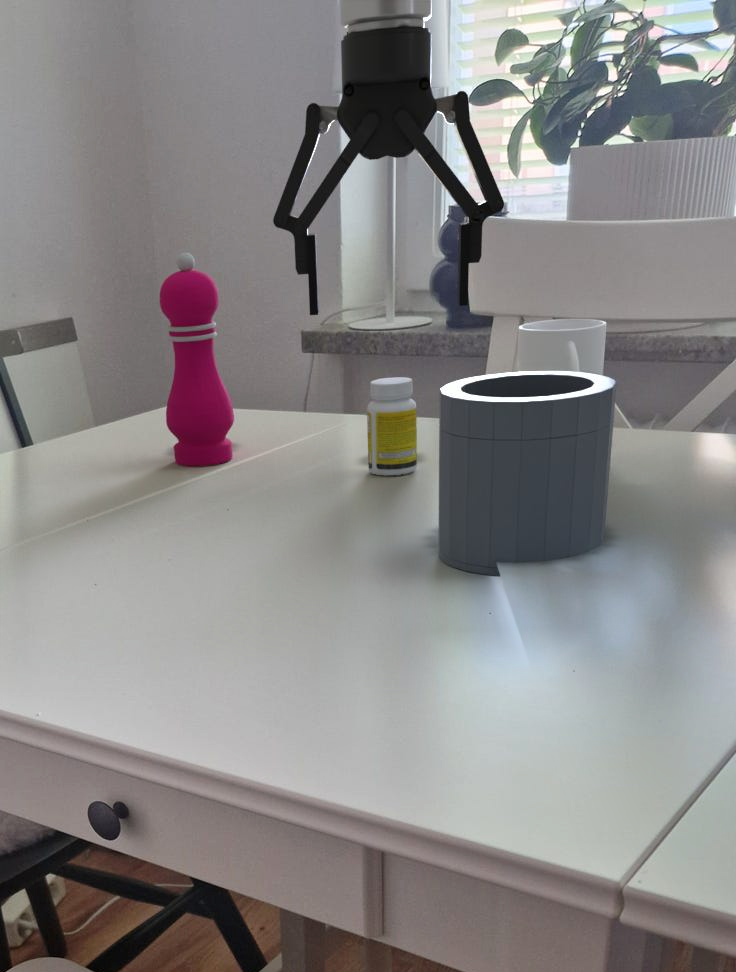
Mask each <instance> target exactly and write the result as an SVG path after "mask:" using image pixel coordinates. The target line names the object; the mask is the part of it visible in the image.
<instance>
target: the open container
mask: <svg viewBox="0 0 736 972" xmlns="http://www.w3.org/2000/svg"><path fill="white" fill-rule="evenodd" d="M617 384H618V383H617V381H615V379H613V378H612V377H610V376H605V375H603V376H602V375H597V374H590V373H582V372H566V371H530V372H529V371H528V372H517V371H514V372H512V371H511V372H502V373H491V374H484V375H477V376H472V377H467V378H462V379H459V380H455V381H452V382H449V383H446V384H445V385H444V386H442V387H440V389H439V414H438V416H439V422H438V424H439V427H438V428H439V429H438V430H439V431H438V531H437V533H438V538H437V539H438V541H437V543H438V556H439V559H440V560H441V561H442V562H443V563H445V564H446V565H448V566H450V567H452V568H455V569H458V570H461V571H465V572H468V573H473V574H480V575H487V576H495V577H497V576H499V577H500V576H501V573H500V570H499V567H498V564H497V562H499V563H533V562H547V561H554V560H561V559H566V558H567V559H568V558H571V557H576V556H579V555H582V554H585V553H589V552H590V551H592V550H595V549H597V548H598V547H600V546H601V545H602V544H603V541H604V539H605V533H606V521H607V520H606V518H607V510H608V509H607V507H608V495H609V484H610V473H611V472H610V471H611V460H612V459H611V458H612V449H613V448H612V447H613V433H614V422H615V421H614V420H615V410H616V409H615V407H616V399H617V398H616V397H617V386H618V385H617Z"/></svg>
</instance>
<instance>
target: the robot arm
mask: <svg viewBox="0 0 736 972" xmlns="http://www.w3.org/2000/svg"><path fill="white" fill-rule="evenodd" d="M339 1H340V2H339V3H340V5H339V8H340V9H339V11H340V25H341V26H342V27H343V28H344V29H347V31H346V34H345V35H343V37H342V39H341V40H340V55H341V58H340V59H341V60H340V61H341V99H340V102H339V105H338V106H336V105H335V106H334V105H319V104H318V103H315V102H311V103H310V104H308V106H307V107H306V111H305V128H304V136H303V139H302V140H301V144H300V146H299V149H298V151H297V154H296V156H295V159H294V162H293V165H292V167H291V170H290V173H289V176H288V178H287V180H286V183H285V186H284V190H283V192H282V195H281V197H280V199H279V203H278V204H277V208H276V210H275V212H274V215H273V219H272V221H273V225H274V227H275V228H277V229H281V230H283V231H288V232H289V233H291V234H292V236H293V241H294V261H295V262H294V263H295V271H296V274H297V275H299V276H300V275H301V276H302V275H308V302H309V304H308V305H309V316H318V315H319V313H320V302H319V300H320V299H319V277H318V276H319V275H318V274H319V273H318V271H319V270H318V248H317V247H318V246H317V243H318V242H317V233H316V232H315V233H314V232H313V233H309V228H310V226H311V225H312V223H313V222H314V220H315V219H316V217H317V216H318V214H319V213H320V212H321V210H322V209H323V207H324V206H325V204H326V203H327V202H328V200H329V198H330V197H331V195H332V194H333V192H334V191H335V189H336V188H337V186H338V185H339V184H340V182H341V181H342V179H343V178H344V176H345V174H346V173H347V171H348V170H349V168H350V167H351V165H352V164H353V162H354V161H355V159H356V158H357V157H358V156H359V155H360V156H361V157H362V158H364V159H366V160H369V161H373V160H380V159H382V158H385V157H391V158H395V159H399V158H406V157H407V156H409V155H411V154H412V153H413V152H414V151H415V152H416V154H417V155H418V157H420V158H421V160H422V161H423V162H424V163H425V165H426V166H427V167H428V168H429V170H430V171H431V172H432V174H433V175H434V177H435V178H436V179H437V180H438V181H439V183H440V184H441V185H442V187H443V188H444V189H445V190H446V192H447V193H448V194H449V196H450V197H451V198H452V200H453V201H454V202H455V203H456V205H457V206H458V207H459V209H460V210H461V211H462V212H463V214H464V215H465V216H466V218H467V219H466V220H467V221H466V222H458V244H457V245H458V247H457V294H456V295H457V296H456V303H457V304H458V306H459V307H462V306H464V307H465V306H468V305H469V273H470V272H469V271H470V270H469V269H470V267H469V266H470V264H477V263H480V261H481V259H482V253H483V252H482V251H483V249H482V248H483V247H482V246H483V225H484V222H485V221H486V219H488V218H489V217H491V216H493V215H496V214H499V213H501V211H503V209H504V208H505V201H504V199H503V196H502V193H501V191H500V188H499V187H498V183H497V182H496V180H495V177H494V174H493V172H492V170H491V167H490V165H489V163H488V161H487V157H486V155H485V152H484V151H483V148H482V146H481V144H480V141H479V139H478V137H477V134H476V132H475V129H474V126H473V124H472V122H471V116H470V103H469V100H470V99H469V95H468V93H467V92H466V91H464V90H460V91H457V92H456V93H454V94H451V95H447V96H441V97H436V98H435V95H434V93H433V88H432V32H430V29H429V28H428V27H425V22H427V21H428V20H429V19H431V17H432V14H433V13H432V10H433V0H339ZM437 113H439V114H442V116H443V119H444V121H445V122H446V123H447V124H449V125H453V126H454V130H455V133H456V136H457V137H458V140H459V141H460V145H461V147H462V149H463V152H464V155H465V157H466V159H467V162H468V163H469V167H470V168H471V171H472V173H473V175H474V178H475V180H476V183H477V185H478V187H479V189H480V192H481V195H482V196H483V199H484V201H482V202H479V203H477V202H476V200H475V198H474V197H473V196H472V195H471V193H470V192H469V191H468V190H467V187H465V185H464V184H463V183H462V181H461V180H460V179H459V178H458V177H457V175H456V173H454V171H453V170H452V168H451V167H450V166H449V165H448V163H447V162H446V161H445V160H444V158H443V157H442V156H441V154H440V153H439V152H438V150H437V149H436V147H435V146H434V145H433V144H432V142H431V141H430V140H429V138H428V137H427V136H426V134H425V133H426V132H427V130H428V128H429V126H430V125H431V123H432V121H433V120H434V118H435V116H436V115H437ZM335 121H337V122H338V124H339V126H340V127H341V129H342V130H343V132H344V133H345V135H346V136H347V137H348V139H349V141H348V143H347V144H346V146H345V147H344V149H343V150H342V152H341V153H340V155H339V156H338V158H337V159H336V160H335V162H334V163H333V165H332V167H331V168H330V169H329V171H328V172H327V174H326V176H325V178H324V179H323V180H322V182H321V183H320V185H319V186H318V188H317V189H316V190H315V192H314V193H313V195H312V196H311V198H310V200H309V201H308V203H307V204H306V206H305V207H304V209H303V210H302V212H301V213H300V214H299V216H296V215H292V211H293V209H294V207H295V204H296V202H297V198H298V195H299V193H300V190H301V187H302V185H303V184H304V183H303V182H304V180H305V177H306V175H307V172H308V170H309V167H310V164H311V162H312V159H313V158H314V157H313V156H314V154H315V151H316V148H317V146H318V142H319V139H320V135H325V134H327V132H328V131H329V129H330V126H331V125H332V123H333V122H335Z"/></svg>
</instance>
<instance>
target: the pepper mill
mask: <svg viewBox="0 0 736 972" xmlns="http://www.w3.org/2000/svg"><path fill="white" fill-rule="evenodd" d="M195 265H196V264H195V257H194V256H193V255H192V254H191V253H189V252H182V253H180V254H179V255H178V257H177V258H176V266H177V268H178V269H179V271H175V272H173V273H171V274H170V275H168V276H167V277H166V278H165V279H164V281H163V282H162V284H161V286H160V289H159V306H160V307H159V308H160V310H161V312H162V314H163V315H164V316H165V317H166V318H167V320H168V321H169V323H170V324H169V325H168V326H167V328H166V329H167V331H168V337H167V339H168V341H170V342H172V348H173V353H174V370H173V379H172V383H171V386H170V390H169V394H168V399H167V402H166V409H165V419H166V420H165V423H166V427H167V428H168V431H169V432H170V433H171V434H172V436H174V437H175V438H176V440H177V443H175V444H174V445H173V453H174V462H175V464H177V465H178V466H183V467H195V468H196V467H208V466H215V465H220V464H224V463H227V462H229V461H231V460H232V459H233V457H234V455H233V454H234V452H233V443H232V440H231V439H229V438H227V435H228V433H229V432H230V430H231V429H232V427H233V425H234V422H235V411H234V407H233V404H232V400H231V397H230V395H229V393H228V390H227V389H226V386H225V384H224V382H223V380H222V377H221V375H220V373H219V370H218V366H217V363H216V358H215V350H214V348H215V347H214V338H216V337H217V336H218V333H217V331H216V328H215V327H216V326H217V323H216V322H215V321H214V320H213V317H214V315H215V313H216V312H217V310H218V307H219V304H220V302H219V301H220V296H219V290H218V287H217V285H216V282H215V281H214V279H213V278H212V277H211V276H210V275H209V274H207V273H206V272H203V271H201V270H197V269H194V268H195Z"/></svg>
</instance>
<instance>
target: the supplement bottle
mask: <svg viewBox="0 0 736 972" xmlns="http://www.w3.org/2000/svg"><path fill="white" fill-rule="evenodd" d="M369 388H370V389H369V390H370V391H369V395H370V398H371V399H372V400H371V401H370V402H369V403H368V405H367V407H366V422H367V423H366V424H367V425H366V426H367V460H368V461H367V462H368V463H367V464H368V472H369V473H370V474H372V475H375V474H376V476H381V475H385V476H384V477H387V476H386V475H396V476H402V475H401V474H403V475H407V474H410V473H413V472H415V471H416V470H417V468H418V467H417V466H418V465H417V464H418V462H417V461H418V457H417V456H418V454H417V449H418V448H417V447H418V446H417V445H418V444H417V440H418V437H417V436H418V435H417V434H418V433H417V431H418V430H417V429H418V428H417V424H418V423H417V422H418V421H417V417H418V416H417V403H416V402H415V400H414V399H412V398H411V397H412V396H413V392H414V390H413V379H412V378H410V377H403V376H401V377H400V376H399V377H397V376H395V377H394V376H393V377H384V378H383V377H382V378H377V379H375V380H371V381H370V384H369Z"/></svg>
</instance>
